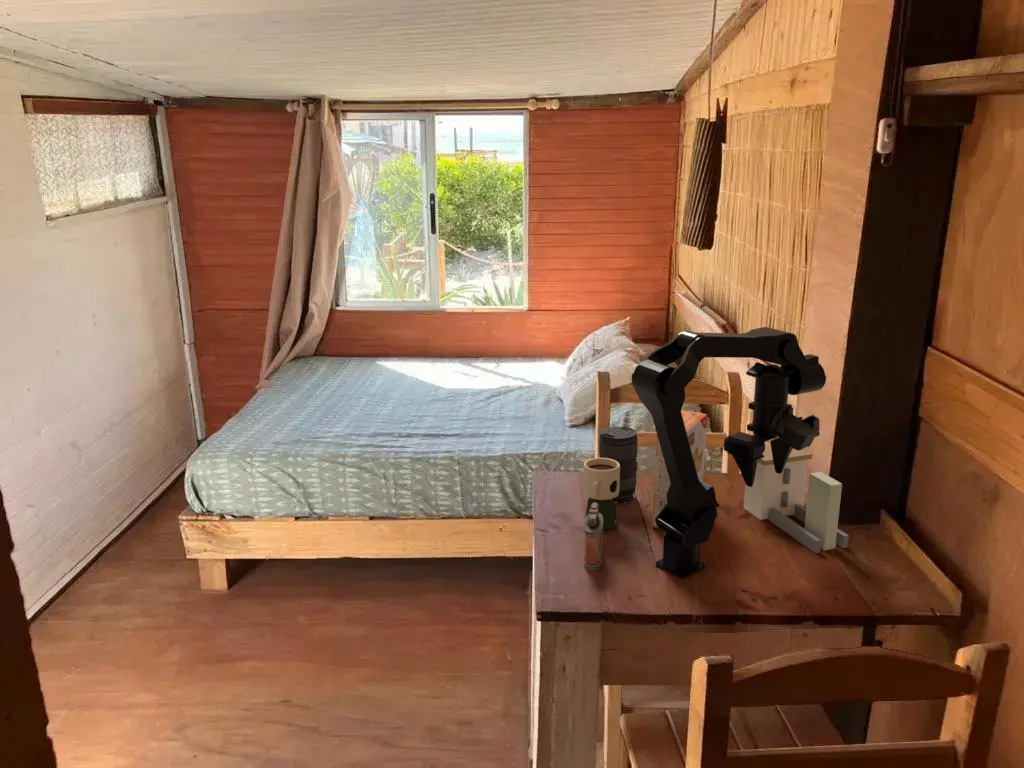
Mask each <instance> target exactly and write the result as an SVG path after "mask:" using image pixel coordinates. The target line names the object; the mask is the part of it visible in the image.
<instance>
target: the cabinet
mask: <svg viewBox="0 0 1024 768" xmlns="http://www.w3.org/2000/svg"><path fill="white" fill-rule="evenodd" d="M762 455H765V456H764V457H763V458H762V459H761V460H759V461H758V462H757V467H756V473H755V479H754V483H753V486H752V487H749V486H747V485H746V483H745V482H744V483H745V485H744V498H743V509H745V510H746V511H747V512H749V513H750V514H751V515H752V516H754V517H755V518H757V519H758V520H760V521H763V520H768V521H769V522H770V523H771V524H773V525H775V526H777V528H779V529H780V530H782V531H783V532H784V533H786V535H789V536H790V537H791V538H793V539H795V540H796V541H797V542H799V543H800V544H801V545H803V546H805V548H807V549H808V550H810V551H812V552H813V553H814V554H819V553H821V540H820V539H819V538H817V537H816V536H814V535H813V534H811V533H810V532H808V531H807V530H805V529H804V527H802V526H801V525H800V524H798V523H797V522H795V521H794V520H792V519H791V518H789V517H788V516H794V517H795V518H796V519H798V520H800V521H801V522H802V523H804V524H805V516H806V506H805V497H806V487H807V486H806V485H807V475H808V467H809V465H808V464H809V460H812V459H813V453H811V452H810V451H807V450H806V449H805V448H803V449H802V450H795V449H792V451H791V453H790V455H789V457H788V460H787V462H786V464H785V467H784V469H783V471H782V473H781V474H778V473H776V472H775V468H774V463H773V457H772V450H771V444H769V445H765V451H764V452H763V454H762ZM849 536H850V535H849V534H847V533H846V532H844V531H843V530H841V529H840V528H838V527H837V536H836V545H837V546H839V547H840V548H841V549H846V548H848V546H849Z"/></svg>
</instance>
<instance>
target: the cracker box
mask: <svg viewBox="0 0 1024 768" xmlns="http://www.w3.org/2000/svg"><path fill="white" fill-rule="evenodd" d="M681 413H682V417H683V421H684V424H685V428H686V432H687V436H688V440H689V444H690V448H691V451H692V455H693V459H694V463H695V467H696V471H697V474H698V478H699V480H701V481H703V482H704V469H705V467H704V466H705V456H706V455H705V454H706V441H707V440H706V438H707V428H708V427H707V425H708V414H707V413H703V412H696V411H689V410H685V409H684V410H681ZM655 443H656V444H655V462H654V481H653V482H654V483H653V498H652V499H653V500H652V517H651V518H652V519H651V527H652V528H656V529H658V528H657V525H656V522H655V518H656V517H657V516H658V514H659V513H660V512H661V510H662V509H663V508H664V507H665V505H666V504H667V492H668V489H669V486H670V479H669V475H668V472H667V468H666V465H665V461H664V457H663V454H662V450H661V447H660V443H659V439H658V436H657V435H656V441H655Z"/></svg>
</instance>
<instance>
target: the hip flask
mask: <svg viewBox="0 0 1024 768" xmlns="http://www.w3.org/2000/svg"><path fill="white" fill-rule="evenodd" d="M583 522H584V524H583V531H584V552H583V553H584V554H583V567H584V569H586V570H587V569H589V570H588V571H597V570H599V569H600V568H601V566H600V565H602V563H603V557H604V556H603V552H604V551H603V548H602V545H603V540H604V529H603V516H602V514H600V513H598V504H597V503H593V504H592V505H591V509H589V514H588V515H587V516H586V518H585V517H584V521H583ZM598 568H599V569H598Z"/></svg>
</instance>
